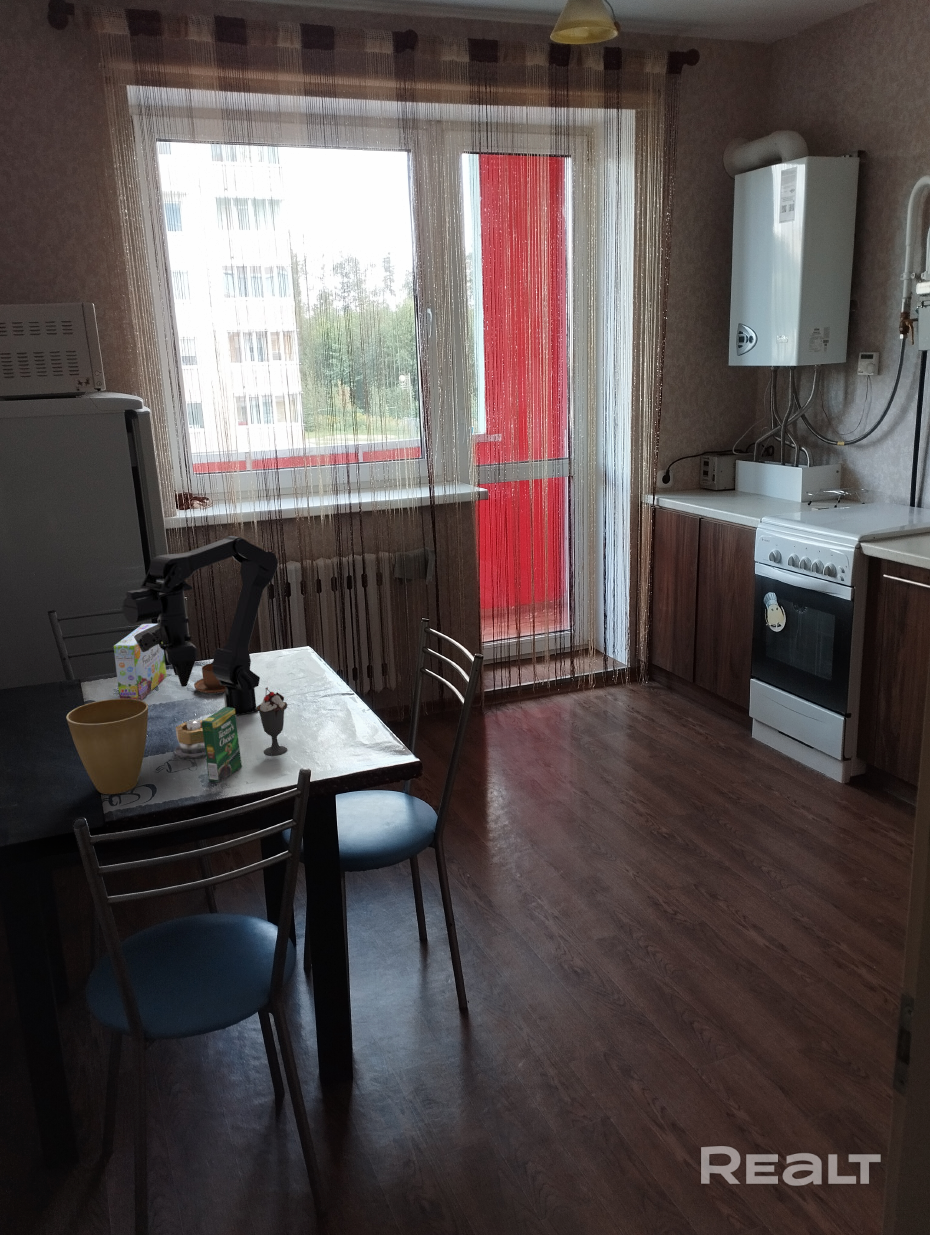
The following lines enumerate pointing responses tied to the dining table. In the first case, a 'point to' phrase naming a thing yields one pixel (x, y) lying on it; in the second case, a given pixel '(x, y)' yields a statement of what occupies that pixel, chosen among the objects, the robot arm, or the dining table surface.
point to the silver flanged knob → (191, 749)
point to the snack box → (138, 666)
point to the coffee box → (221, 744)
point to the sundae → (273, 720)
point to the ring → (189, 734)
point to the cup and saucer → (209, 681)
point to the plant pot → (111, 741)
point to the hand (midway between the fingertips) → (180, 680)
